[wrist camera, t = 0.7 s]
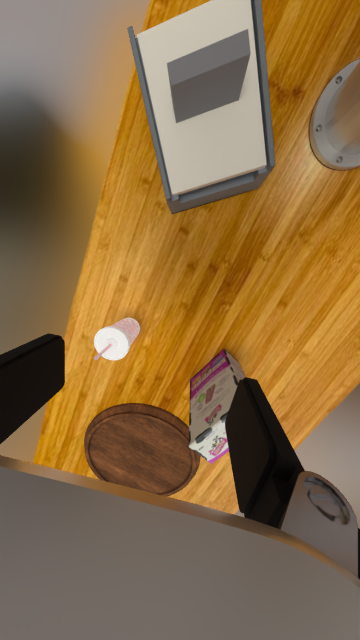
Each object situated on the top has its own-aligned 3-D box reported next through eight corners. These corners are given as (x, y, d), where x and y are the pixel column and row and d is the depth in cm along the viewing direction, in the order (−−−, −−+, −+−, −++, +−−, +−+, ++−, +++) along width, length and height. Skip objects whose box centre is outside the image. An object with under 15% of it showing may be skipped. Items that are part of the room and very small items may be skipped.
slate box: (242, 47, 26) (259, -35, 19) (257, 188, 30) (276, 164, 23) (143, 87, 28) (126, 28, 21) (172, 214, 32) (165, 199, 25)
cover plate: (246, -7, 20) (266, -111, 15) (264, 167, 24) (284, 138, 19) (138, 42, 22) (119, -34, 16) (172, 196, 26) (166, 177, 21)
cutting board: (114, 380, 44) (109, 387, 41) (223, 440, 46) (225, 450, 44) (70, 458, 53) (64, 467, 50) (163, 505, 55) (162, 516, 53)
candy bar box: (205, 392, 42) (211, 466, 27) (189, 379, 42) (186, 447, 26) (240, 361, 39) (270, 424, 24) (224, 347, 39) (244, 402, 23)
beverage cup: (142, 342, 40) (115, 380, 27) (115, 338, 40) (75, 372, 27) (144, 316, 38) (117, 342, 25) (116, 311, 38) (74, 335, 25)
